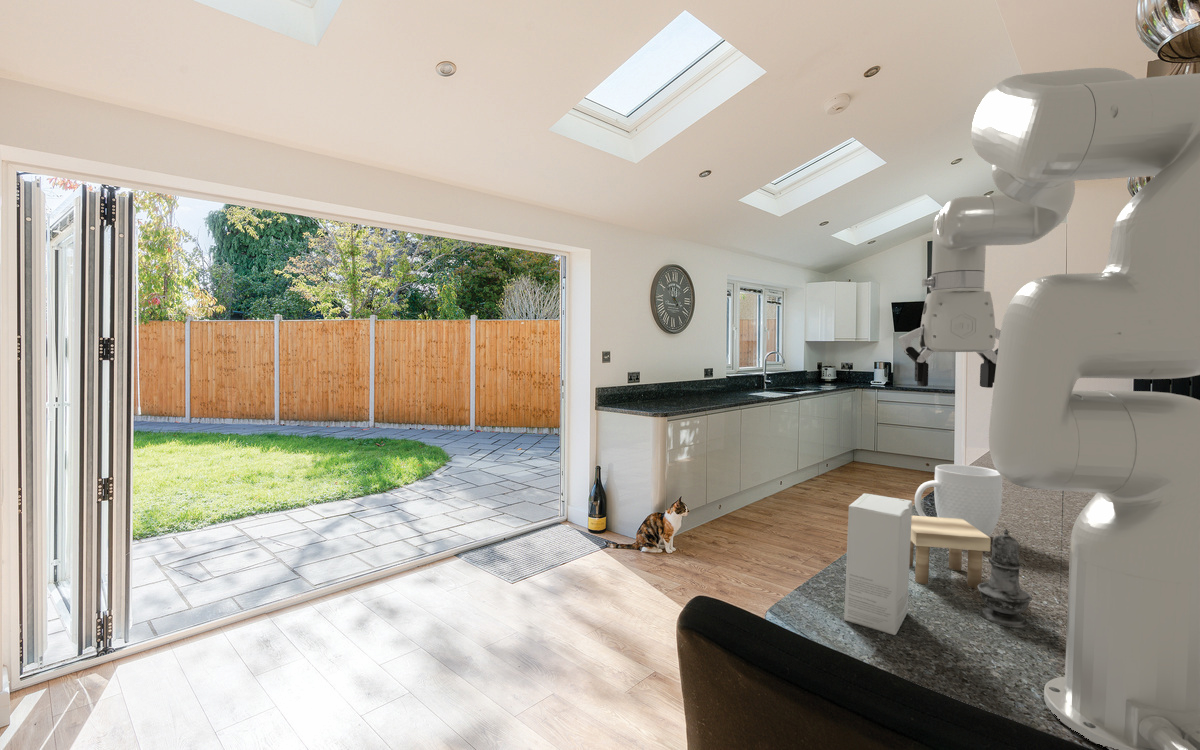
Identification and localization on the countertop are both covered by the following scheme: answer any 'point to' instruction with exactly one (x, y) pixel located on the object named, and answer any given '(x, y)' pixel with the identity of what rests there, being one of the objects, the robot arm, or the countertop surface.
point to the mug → (966, 495)
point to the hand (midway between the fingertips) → (953, 386)
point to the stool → (947, 546)
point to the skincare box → (878, 562)
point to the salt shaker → (1004, 585)
